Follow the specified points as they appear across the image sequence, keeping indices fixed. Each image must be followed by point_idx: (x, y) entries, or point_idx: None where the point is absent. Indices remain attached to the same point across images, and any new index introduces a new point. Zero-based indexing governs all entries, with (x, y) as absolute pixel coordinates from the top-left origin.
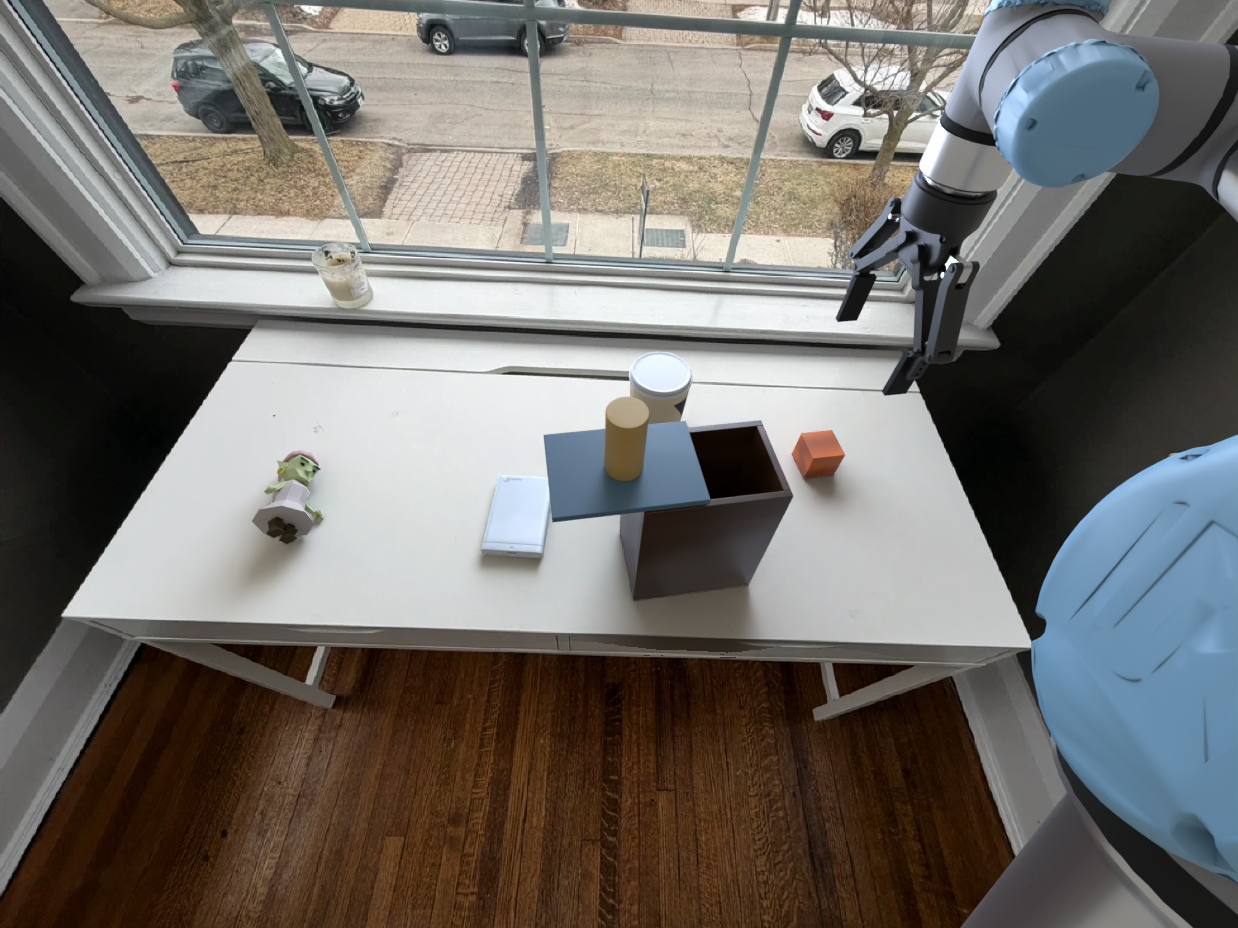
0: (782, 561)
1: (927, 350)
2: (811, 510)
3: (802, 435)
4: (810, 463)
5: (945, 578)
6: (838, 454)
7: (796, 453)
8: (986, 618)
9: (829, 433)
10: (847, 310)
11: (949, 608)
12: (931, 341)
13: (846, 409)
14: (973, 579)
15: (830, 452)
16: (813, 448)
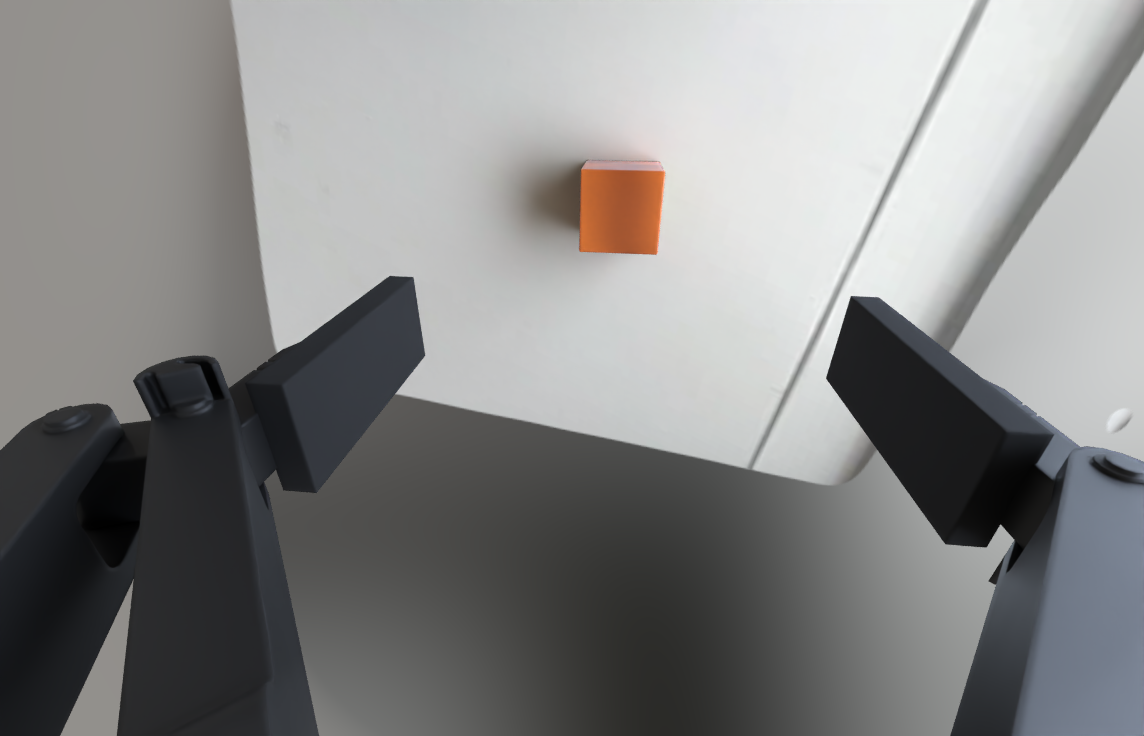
0: (382, 17)
1: (73, 439)
2: (504, 144)
3: (656, 171)
4: (583, 166)
5: None
6: (583, 236)
7: (645, 163)
8: None
9: (647, 243)
10: (870, 344)
11: (311, 302)
12: (15, 482)
13: (747, 338)
14: None
15: (592, 220)
16: (610, 182)
